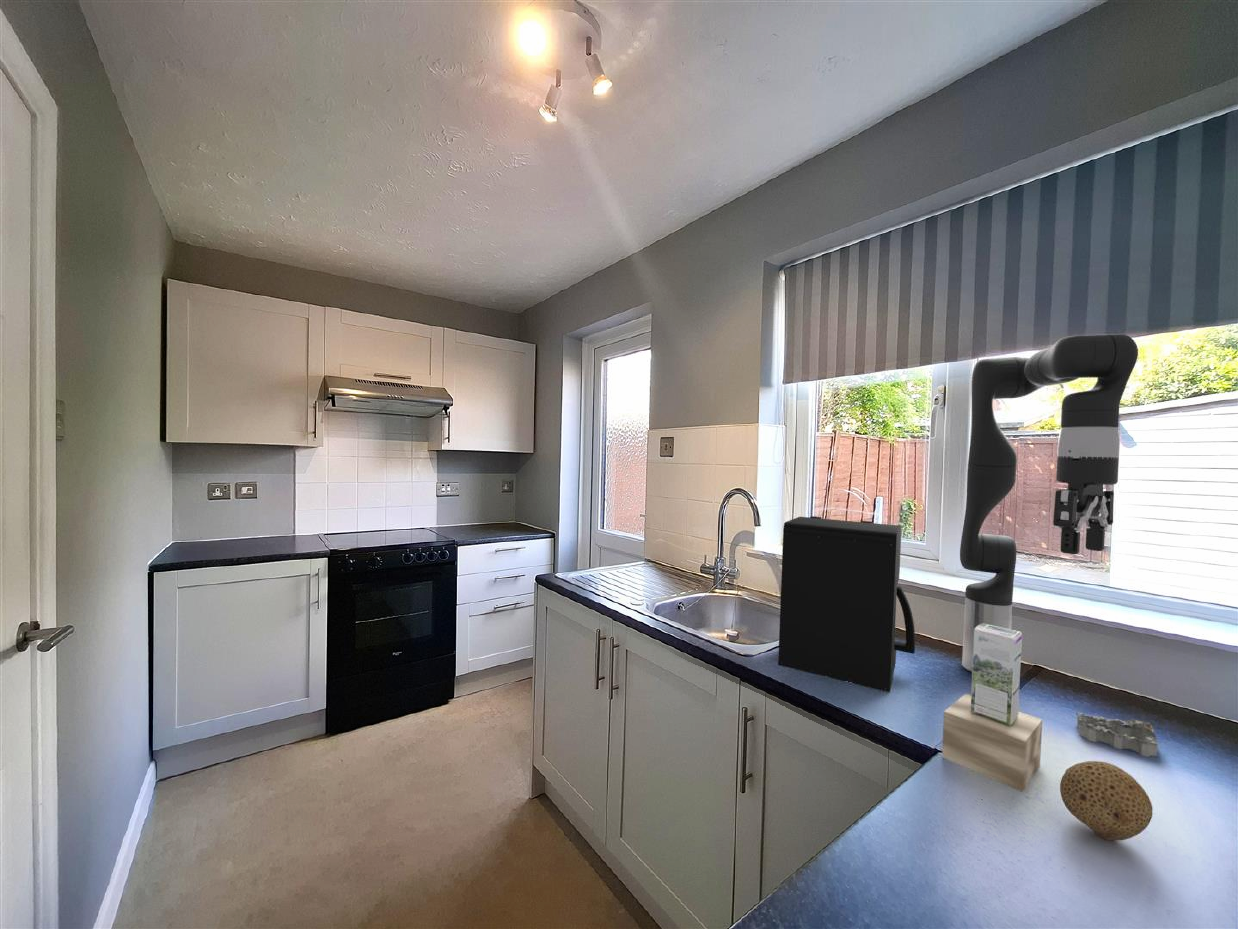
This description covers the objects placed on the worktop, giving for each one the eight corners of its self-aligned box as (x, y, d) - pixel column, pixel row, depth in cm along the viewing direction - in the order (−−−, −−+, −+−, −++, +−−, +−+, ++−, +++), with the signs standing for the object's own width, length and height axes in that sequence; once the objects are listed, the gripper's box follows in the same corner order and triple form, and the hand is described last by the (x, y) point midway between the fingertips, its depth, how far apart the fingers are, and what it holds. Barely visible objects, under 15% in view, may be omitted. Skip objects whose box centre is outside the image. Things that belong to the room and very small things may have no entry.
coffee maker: (914, 667, 122) (921, 525, 122) (911, 698, 106) (918, 534, 105) (796, 641, 138) (801, 514, 137) (777, 665, 121) (783, 521, 120)
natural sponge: (1128, 873, 62) (1132, 794, 62) (1043, 823, 70) (1046, 753, 70) (1163, 852, 66) (1167, 777, 65) (1078, 807, 74) (1082, 740, 74)
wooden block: (963, 736, 92) (965, 693, 92) (1039, 766, 84) (1042, 719, 84) (941, 757, 85) (944, 711, 85) (1022, 793, 77) (1025, 741, 77)
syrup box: (1019, 716, 84) (1023, 630, 84) (1010, 727, 81) (1015, 637, 81) (978, 703, 89) (982, 621, 89) (969, 712, 85) (972, 627, 85)
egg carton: (1154, 745, 91) (1155, 723, 91) (1159, 763, 86) (1161, 740, 86) (1075, 723, 99) (1076, 702, 98) (1075, 738, 93) (1077, 716, 93)
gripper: (1079, 455, 90) (1075, 545, 90) (1037, 453, 83) (1033, 550, 84) (1136, 456, 83) (1131, 553, 83) (1096, 454, 77) (1090, 559, 77)
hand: (1082, 551), depth 84 cm, fingers open, 8 cm apart
